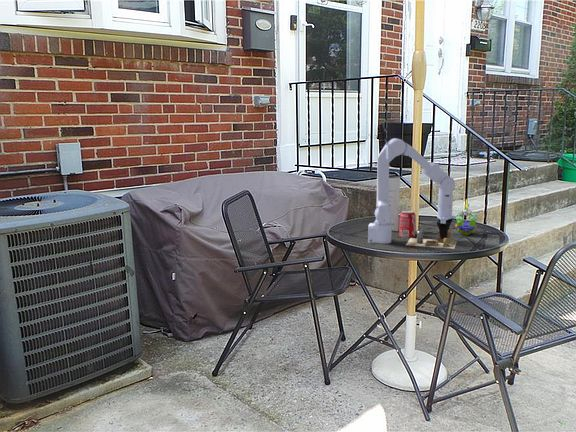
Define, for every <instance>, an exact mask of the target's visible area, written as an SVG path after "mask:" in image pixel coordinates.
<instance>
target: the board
mask: <svg viewBox="0 0 576 432" xmlns="http://www.w3.org/2000/svg"><path fill="white" fill-rule="evenodd" d="M457 242H458V240H451V241H450V243H449V238H444V243H442V242H438V241H437V239H434V238H433V239H432V238H423V243H422V244H419V243H417V237H416V238H415V237H409V239H408V241H407V243H405V246H408V247H409V246H411V247H412V246H414V247H415V246H416V247H423V248H425V247H427V248H438V249H439V248H441V249H452V250H453V249H455V248H456V245H457Z"/></svg>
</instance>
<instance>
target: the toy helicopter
mask: <svg viewBox="0 0 576 432" xmlns="http://www.w3.org/2000/svg"><path fill="white" fill-rule="evenodd" d="M464 207H465V209H464V210H461V211H458V213H456V216H455V219H456V224H455V225H454V228H455V229H457V231H456V232H457V233H461V236H470V234H474V233H475V230H477V229H478V228H477V225H476V222H477V219H478V218H477V214H476V213H475V212H473V211H472V210H469V207H470V203H469V200H468V198H466V199H465V203H464ZM464 216H468V221H465V219H464Z"/></svg>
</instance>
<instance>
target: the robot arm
mask: <svg viewBox="0 0 576 432" xmlns="http://www.w3.org/2000/svg"><path fill="white" fill-rule="evenodd" d="M401 155H403V156H407V157H409V158H411V159H412V160H413V161H414V162H415V163H416V164H418V165H419V166H420V167H422V168H423V173H424V174H425V176H427V178H429V179H430V180H431V181H432V182H433V183H434V184H437V187H438V194H437V195H438V199H437V215H436V217H437V220H438V221H436V225H437V227H438V230H439V232H440V238H441V239H444V238H446V237H447V233H448V229H450V227H451V224H452V222H453V219H456V215H453V204H454V203H453V202H454V188H455V187H456V182H455V180H454V178H453V177H452V176H449V175H448V174H449V173H448V172H447V171H444V170H443V169H442V168H441V167H440V164H439V163H435V162H429V161H428V160H427V159H426V158H425V157H424V156H422V154H421V153H419V151H418V150H416V149H415V148H414V146H411V145H410V144H409V143H407V142H405V141H404V140H403V139H401V138H396V137H394V138H391V139H390V140H388V141H387V142H386V143H385V144H384V146H383V148H382V149H381V151H380V152H379V154H378V155H377V159H376V160H377V162H376V163H377V164H376V165H377V167H376V169H377V175H376V204H377V207H376V208H375V210H374V217H375V220H374V221H373V222H370V223H369V224H368V228H367V229H368V230H367V243H368V244H370V243H372V244H373V243H375V244H383V245H384V244H385V245H386V244H390V243H392V232H393V231H392V222H391V219H392V214H391V212H390V206H389V176H390V163H391V162H392V160H394V159H395V158H396V157H398V156H401Z"/></svg>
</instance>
